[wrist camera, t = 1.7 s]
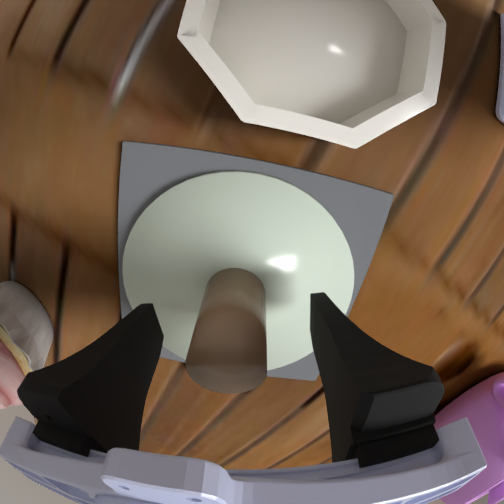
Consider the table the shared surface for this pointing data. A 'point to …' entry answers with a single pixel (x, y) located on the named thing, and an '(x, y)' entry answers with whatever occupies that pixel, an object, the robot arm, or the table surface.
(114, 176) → the table surface
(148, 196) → the mat
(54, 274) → the table surface
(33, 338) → the cupcake
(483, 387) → the teapot
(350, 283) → the lid
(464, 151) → the table surface
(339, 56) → the bowl
